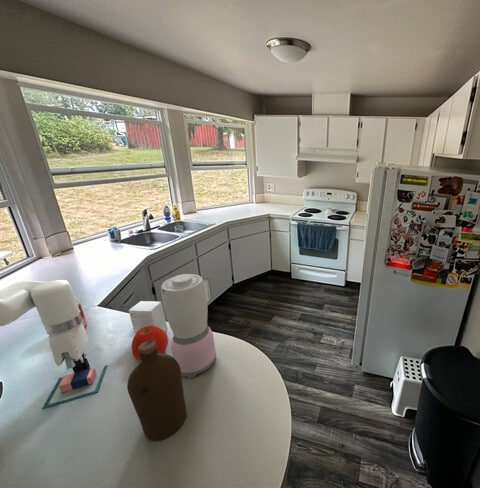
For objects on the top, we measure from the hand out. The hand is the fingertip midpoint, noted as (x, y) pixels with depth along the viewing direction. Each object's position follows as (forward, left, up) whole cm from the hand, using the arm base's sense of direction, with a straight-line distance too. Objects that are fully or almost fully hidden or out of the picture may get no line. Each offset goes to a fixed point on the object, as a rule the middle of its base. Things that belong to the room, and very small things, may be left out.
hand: (82, 371), depth 78 cm
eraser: (0, -4, -1) cm, 4 cm away
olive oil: (+24, -28, -1) cm, 37 cm away
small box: (+17, +12, -1) cm, 21 cm away
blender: (+33, -9, -1) cm, 34 cm away
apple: (+18, +1, -1) cm, 18 cm away
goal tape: (0, -4, -1) cm, 4 cm away
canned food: (-10, +28, -1) cm, 30 cm away
